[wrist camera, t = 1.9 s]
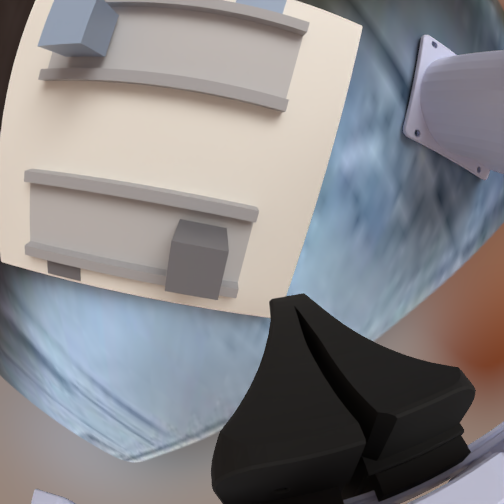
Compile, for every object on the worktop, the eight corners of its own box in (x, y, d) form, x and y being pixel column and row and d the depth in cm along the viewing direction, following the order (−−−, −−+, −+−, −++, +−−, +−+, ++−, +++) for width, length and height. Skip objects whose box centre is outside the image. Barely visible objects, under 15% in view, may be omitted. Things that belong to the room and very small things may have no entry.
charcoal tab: (226, 228, 15) (228, 251, 12) (217, 270, 16) (217, 300, 13) (180, 219, 15) (171, 240, 12) (173, 262, 16) (164, 290, 13)
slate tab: (118, 15, 10) (98, -6, 7) (105, 56, 11) (80, 43, 8) (79, 17, 10) (54, -1, 7) (66, 56, 10) (37, 46, 8)
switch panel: (348, 34, 13) (369, 22, 11) (272, 301, 20) (280, 326, 17) (55, -4, 10) (35, -17, 7) (15, 250, 16) (-5, 266, 14)
